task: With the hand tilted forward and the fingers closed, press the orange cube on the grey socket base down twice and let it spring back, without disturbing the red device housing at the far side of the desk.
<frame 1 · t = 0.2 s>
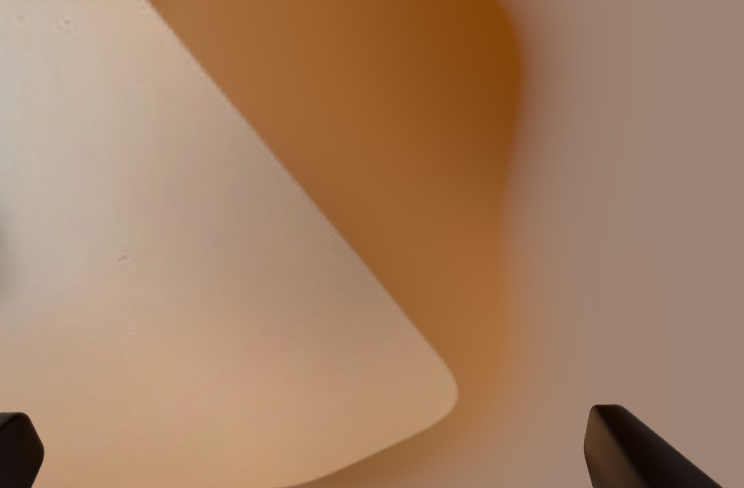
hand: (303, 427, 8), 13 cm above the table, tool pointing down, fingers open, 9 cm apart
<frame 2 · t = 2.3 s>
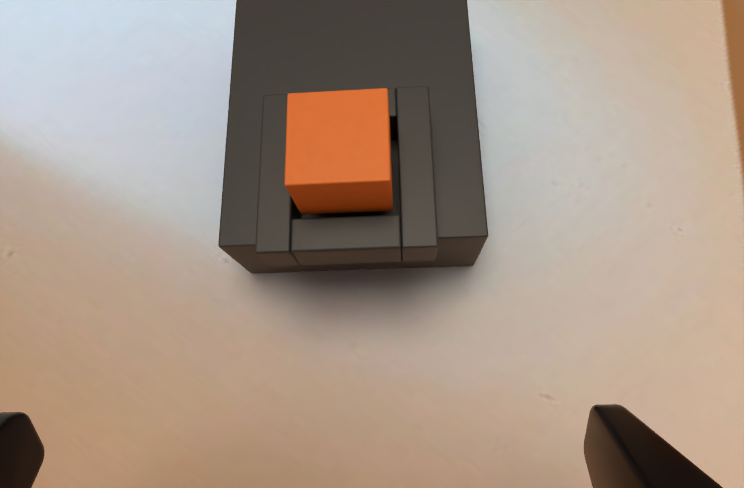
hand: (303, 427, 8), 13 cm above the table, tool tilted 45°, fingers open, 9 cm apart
grey socket base: (359, 148, 24), on the table
orange cube: (342, 154, 17), point 7 cm above the table, slide at 0.1 cm
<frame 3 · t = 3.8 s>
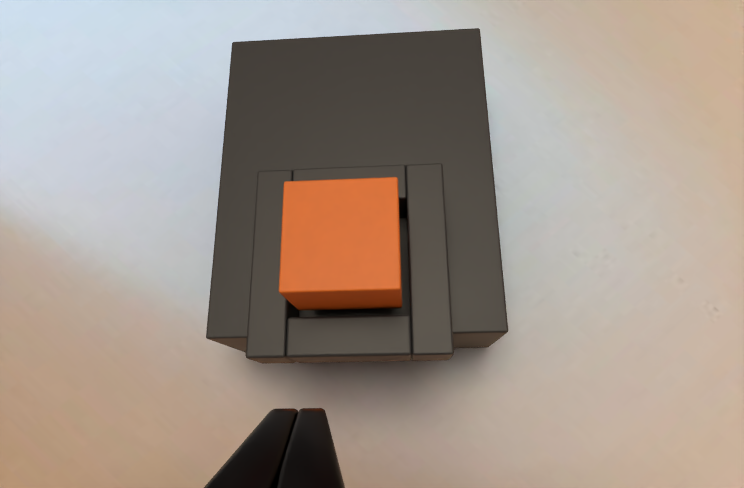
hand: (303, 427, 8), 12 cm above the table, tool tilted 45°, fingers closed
grey socket base: (363, 212, 23), on the table
orange cube: (345, 247, 15), point 7 cm above the table, slide at 0.1 cm
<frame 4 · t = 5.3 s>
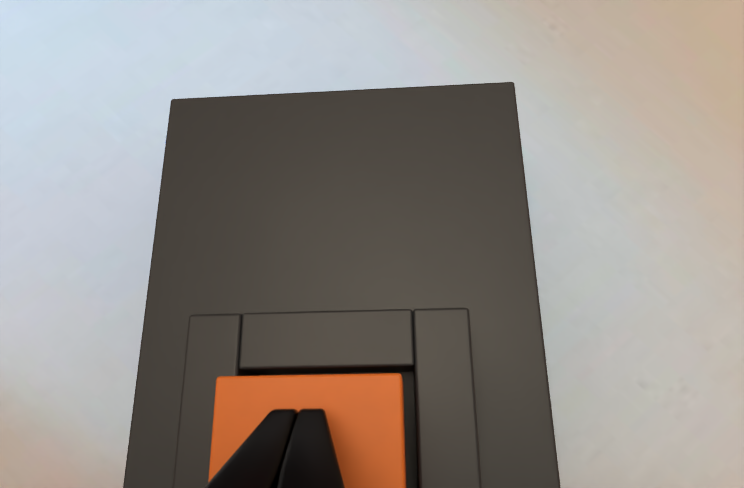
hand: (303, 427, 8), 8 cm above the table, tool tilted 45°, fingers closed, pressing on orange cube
grey socket base: (353, 320, 17), on the table
orange cube: (318, 468, 9), point 7 cm above the table, slide at -0.1 cm, touching gripper
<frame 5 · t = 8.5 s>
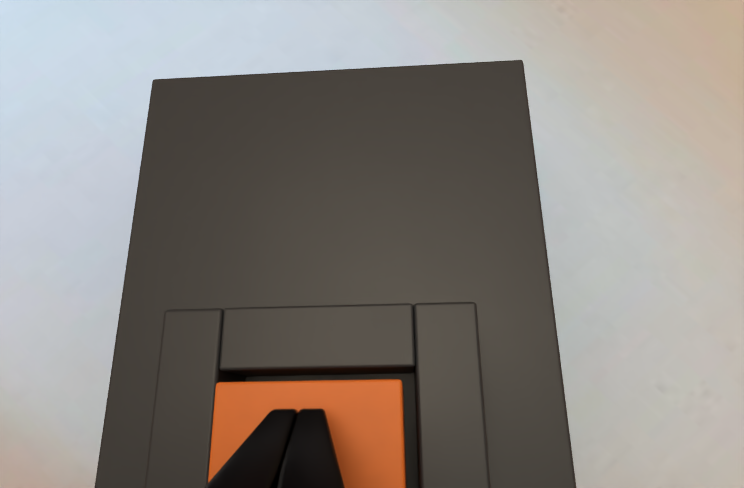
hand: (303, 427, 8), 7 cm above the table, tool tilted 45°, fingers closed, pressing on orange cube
grey socket base: (350, 318, 16), on the table
orange cube: (318, 474, 9), point 6 cm above the table, slide at -1.3 cm, touching gripper
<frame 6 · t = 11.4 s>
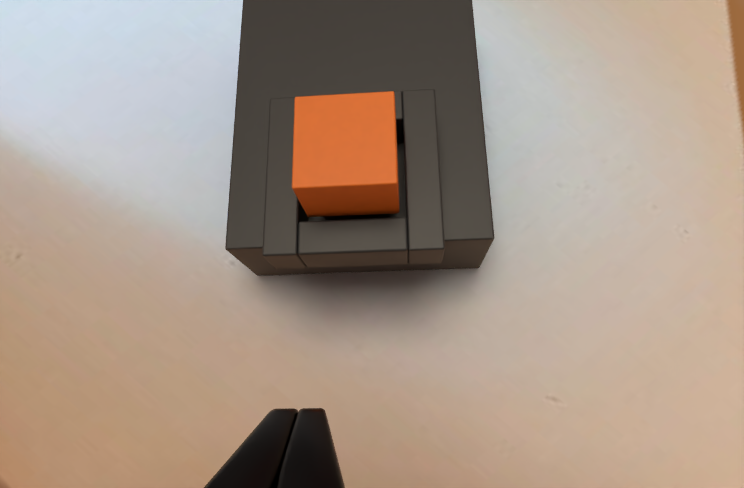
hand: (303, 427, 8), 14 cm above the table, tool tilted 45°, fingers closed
grey socket base: (364, 151, 25), on the table
orange cube: (348, 157, 17), point 7 cm above the table, slide at 0.1 cm
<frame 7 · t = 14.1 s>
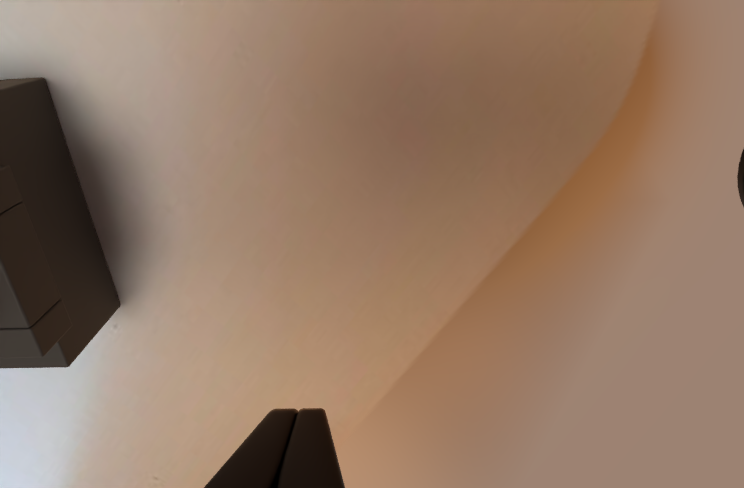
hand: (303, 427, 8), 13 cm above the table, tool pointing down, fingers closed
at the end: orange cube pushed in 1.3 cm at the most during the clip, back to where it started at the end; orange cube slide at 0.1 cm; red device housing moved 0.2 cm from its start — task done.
